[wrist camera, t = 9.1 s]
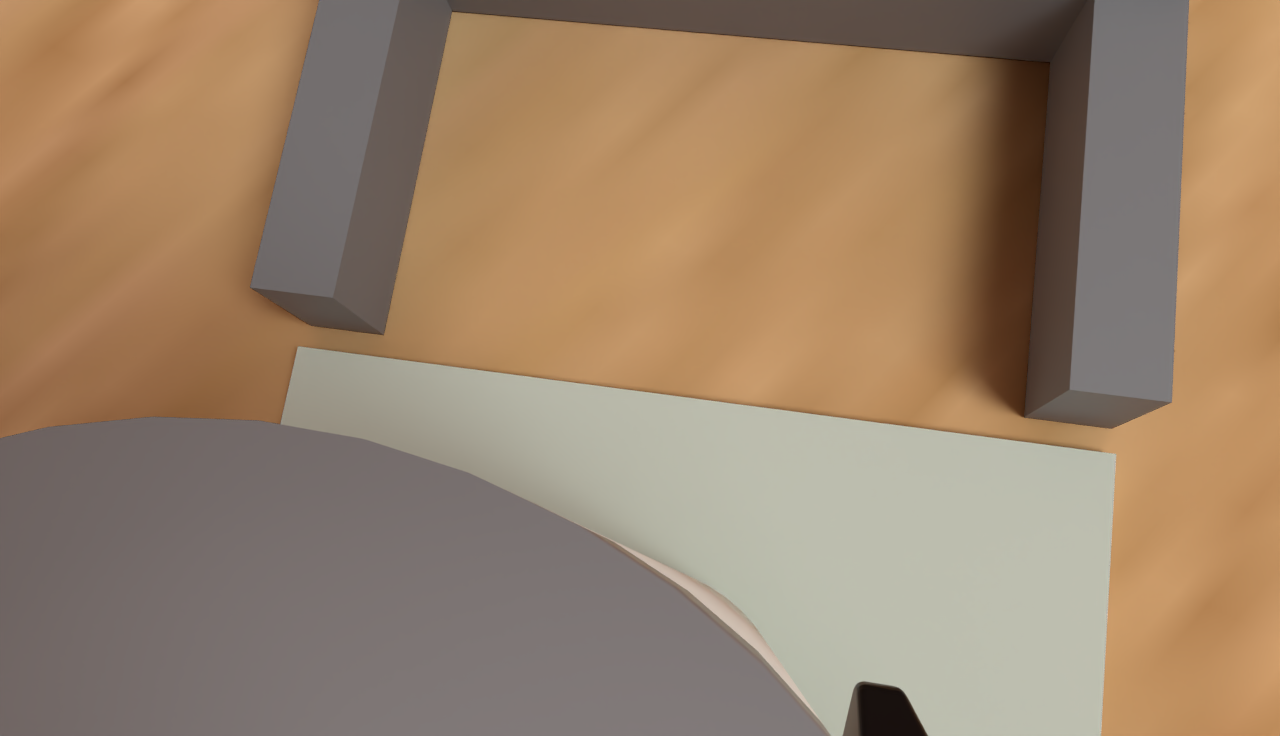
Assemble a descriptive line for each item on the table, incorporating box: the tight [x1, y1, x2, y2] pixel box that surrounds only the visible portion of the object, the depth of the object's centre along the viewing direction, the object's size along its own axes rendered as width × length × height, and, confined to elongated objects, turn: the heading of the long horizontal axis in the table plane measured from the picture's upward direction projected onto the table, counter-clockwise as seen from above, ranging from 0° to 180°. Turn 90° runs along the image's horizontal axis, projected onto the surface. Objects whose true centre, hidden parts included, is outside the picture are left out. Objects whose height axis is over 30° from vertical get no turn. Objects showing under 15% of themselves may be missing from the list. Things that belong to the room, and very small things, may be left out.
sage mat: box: [280, 346, 1116, 736], centre depth 17 cm, size 11×15×1 cm
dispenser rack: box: [250, 0, 1189, 429], centre depth 17 cm, size 8×15×5 cm, turn 81°
